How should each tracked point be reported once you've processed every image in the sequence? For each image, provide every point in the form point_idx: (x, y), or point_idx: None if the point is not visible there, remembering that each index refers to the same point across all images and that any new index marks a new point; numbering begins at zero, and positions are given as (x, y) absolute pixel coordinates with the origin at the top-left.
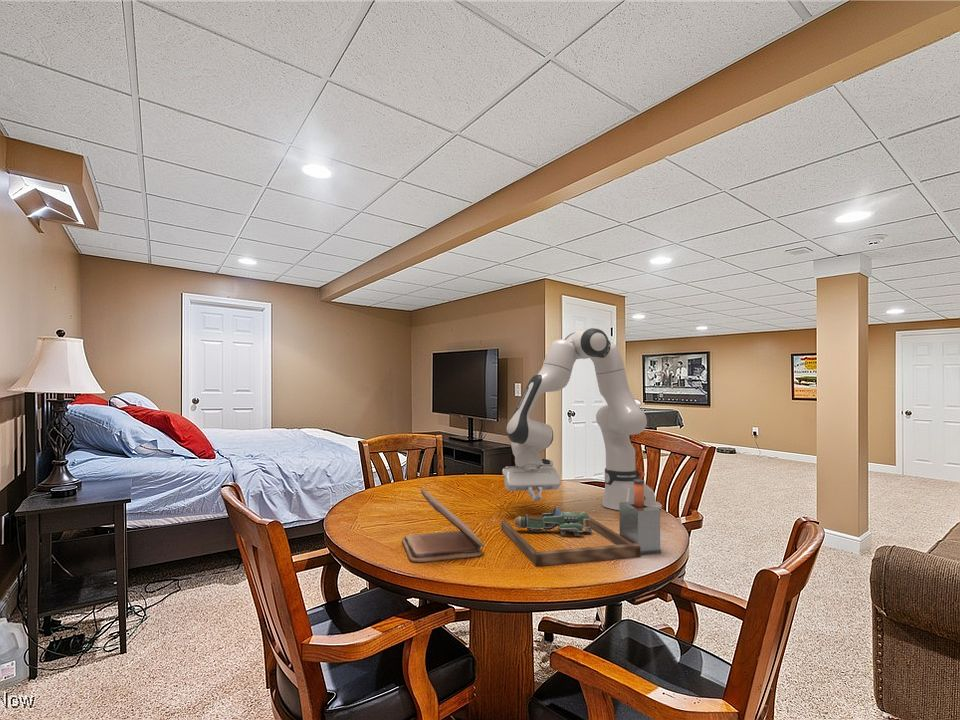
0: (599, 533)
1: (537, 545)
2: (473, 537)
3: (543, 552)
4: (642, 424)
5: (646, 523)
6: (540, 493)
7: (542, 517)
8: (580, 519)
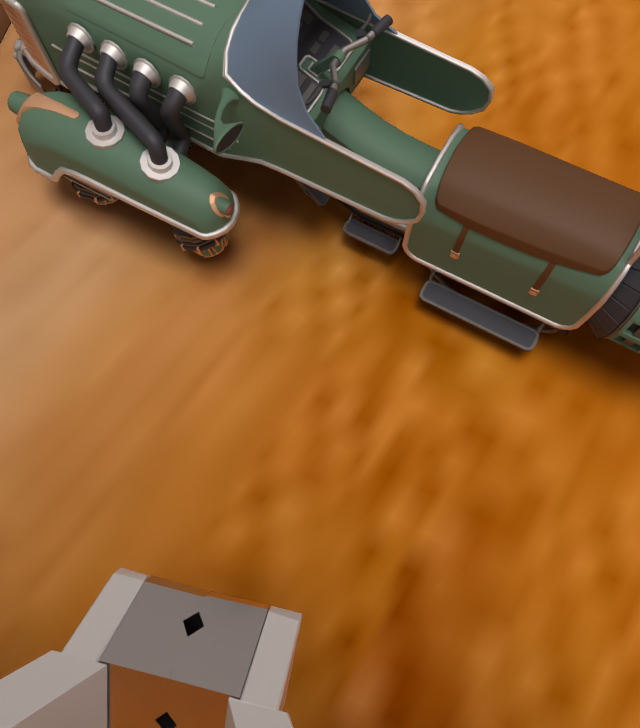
0: (7, 25)
1: (629, 24)
2: None
3: None
4: None
5: None
6: (66, 652)
7: (468, 137)
8: None
